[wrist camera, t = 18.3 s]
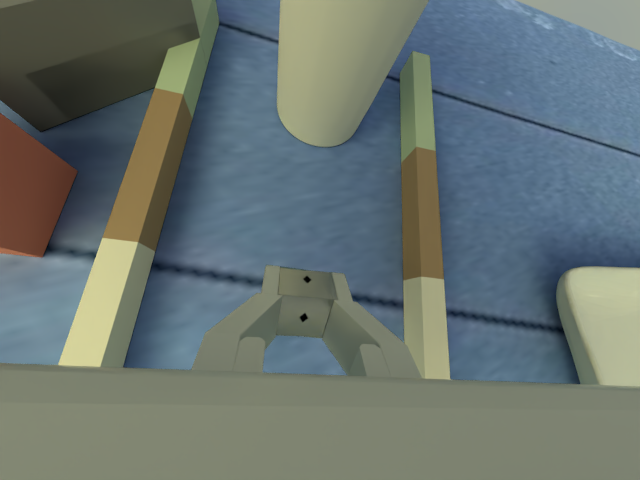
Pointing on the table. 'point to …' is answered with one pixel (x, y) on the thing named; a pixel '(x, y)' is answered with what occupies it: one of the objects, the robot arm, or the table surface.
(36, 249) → the die
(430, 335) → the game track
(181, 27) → the dome housing
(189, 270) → the table surface
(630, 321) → the salad plate
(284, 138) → the table surface
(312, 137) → the mug
